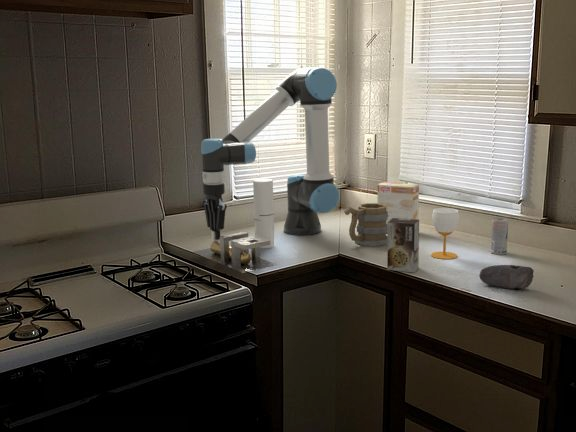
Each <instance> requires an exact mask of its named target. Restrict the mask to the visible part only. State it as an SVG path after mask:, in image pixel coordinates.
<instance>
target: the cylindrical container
mask: <svg viewBox="0 0 576 432" xmlns="http://www.w3.org/2000/svg"><path fill="white" fill-rule="evenodd" d="M252 183H253V184H252V186H253V213H254V214H253V215H254V216H253V218H254V220H253V221H254V222H253V223H254V236H259V237H262V238H265V239H268V240H270V245H266V246H261V247H260V249H269V248H273V247H275V220H274V219H275V218H274V217H275V216H274V215H275V214H274V213H275V211H274V180H273V179H271V178H256V179H253V180H252Z"/></svg>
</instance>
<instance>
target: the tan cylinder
mask: <svg viewBox="0 0 576 432" xmlns="http://www.w3.org/2000/svg"><path fill="white" fill-rule="evenodd" d="M209 248H210V249H211V251H212V252H214V253H217V254H219V255H221V254H220V243H219V242H216V241H215V242H213V243H212V242H211V244H210V247H209ZM240 257H241V263H242V264H244V265H247V264H249V263H250V261H251V254H250V252H249V253H246V252H244V251H241V250H240ZM229 259H232V257H231V245H229Z"/></svg>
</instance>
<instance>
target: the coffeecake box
mask: <svg viewBox="0 0 576 432" xmlns="http://www.w3.org/2000/svg"><path fill="white" fill-rule="evenodd" d="M376 195H377V197H376V198H377V202H376V203H378V204H384V205H386V211H388V218H387V220H386V224H387V222H389V221H390V220H391V219H392V218H401V219H416V220H419V205H420V204H419V197H420V184H418V183H417V184H416V183H403V182H402V183H401V182H391V181H383V182H380V183H377V194H376ZM386 234H388V230H387V233H386Z"/></svg>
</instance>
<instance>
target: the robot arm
mask: <svg viewBox="0 0 576 432" xmlns="http://www.w3.org/2000/svg"><path fill="white" fill-rule="evenodd" d="M337 87H338V83H337V79H336V76H335V75H334V73H333V72H332V71H331V70H330V69H328V68H326V67H320V66H314V67H313V66H312V67H299V68H298V69H295V70H294V71H293V72H291V73H290V74H289V75H288V76H286V77H285V78H284V79H282V81H281V82H279V83H278V84H277V85H276V86H275V90H274V92H273V93H271V94H270V95H269V96H268V98H266V99H265V100H264V101H263V102H261V104H260V105H258V107H256V108H255V109H254V110H253V111H252V112H251V113H250V114H249V115H247V117H246V118H245V119H243V120H242V121H241V122H240V123H239V124H238V125H237V126H236V127H235V128H234V129H232V130H230V132H229V133H228V134H227V135H226V136H224V138H205V139H203V140H202V141H201V142H200V143H201V144H200V145H201V146H200V148H201V150H200V154H201V167H202V169H201V170H202V175H201V177H202V183H203V185H202V193H203V195H205V199H204V200H202V204H203V208H204V213H205V220H206V225H207V227H208V228H209V229H210V231H211V233H210V235H211V237H210V238H211V244H212V243H213V242H215V241H216V242H219V243H220V236H221V231H222V230H224V228H225V218H226V210H227V206H228V205H227V204H224V203H223V198H222V197H223V196H222V195H224V194H225V192H226V191H225V183H224V182H225V168H224V166H231V165H247V164H253V163H254V162H255V160H256V159H257V150H256V149H257V148H256V146H255V144H254V143H253V142H251V141H253V139H254V138H256V136H258V135H259V134H260V133H261V132H262V131H263V130H264V129H265V128H266V127H268V126H269V124H271V122H273V121H274V120H275V119H277V117H278V116H279V115H281V114H282V113H283V112H284V111H285V110H286V109H287V108H288V107H293V106H294V105H295V104H297V102H300V103H299V104H300V106H301V108H303V110H304V123H305V125H304V126H305V127H304V129H305V130H304V131H305V153H306V154H305V155H306V174H296V175H290V176H288V177H287V183H286V188H287V189H286V190H287V194H286V195H287V213H286V218H285V222H284V224H283V233H286V234H290V235H295V236H298V235H299V236H300V235H301V236H305V235H314V234H318V233H320V232H321V231H322V224H321V221H320V217H319V214H327V213H329V212H331V211H333V210H334V209H335V208H336V207H337V205H338V203H339V201H340V191H339V189H338V187H337V186H336V185H335V179H334V175H333V174H332V173H331V172H330V151H329V150H330V149H329V148H330V147H329V146H330V145H329V144H330V142H329V113H328V111H329V107H330V106H331V105H332V104H333V103H332V100H333V99H332V98H333V97H334V95H335V94H336V91H337Z"/></svg>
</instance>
